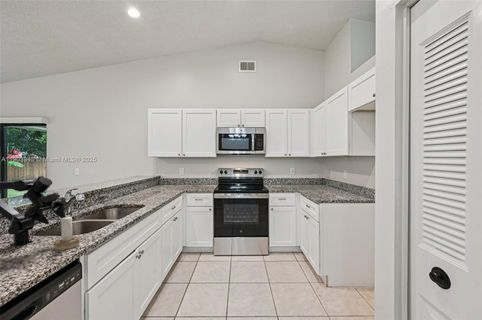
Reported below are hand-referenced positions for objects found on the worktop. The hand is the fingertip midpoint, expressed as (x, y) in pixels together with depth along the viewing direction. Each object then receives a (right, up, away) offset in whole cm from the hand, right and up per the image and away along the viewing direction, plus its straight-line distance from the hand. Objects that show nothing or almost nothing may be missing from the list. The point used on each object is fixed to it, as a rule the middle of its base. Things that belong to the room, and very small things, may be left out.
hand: (56, 221), depth 124 cm
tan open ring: (+6, -12, -1) cm, 14 cm away
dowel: (+6, -12, 0) cm, 14 cm away
